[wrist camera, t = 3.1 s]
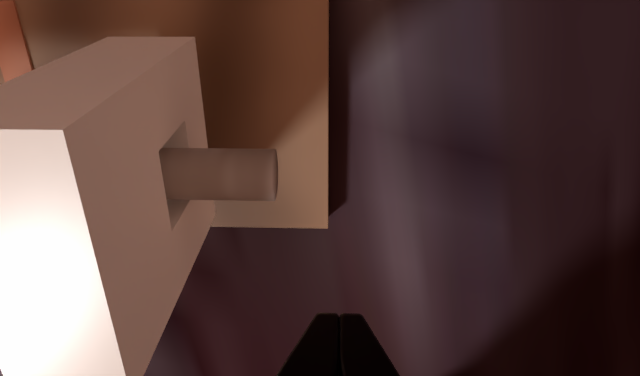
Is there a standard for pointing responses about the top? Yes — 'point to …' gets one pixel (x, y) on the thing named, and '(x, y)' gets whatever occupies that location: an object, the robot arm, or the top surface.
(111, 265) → the tan rectangular block
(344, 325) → the robot arm
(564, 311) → the top surface
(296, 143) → the rod stand
